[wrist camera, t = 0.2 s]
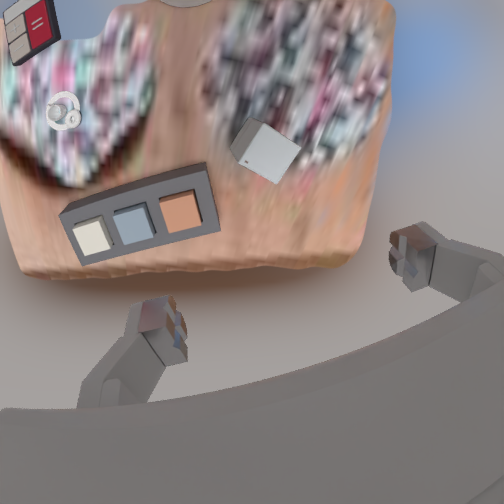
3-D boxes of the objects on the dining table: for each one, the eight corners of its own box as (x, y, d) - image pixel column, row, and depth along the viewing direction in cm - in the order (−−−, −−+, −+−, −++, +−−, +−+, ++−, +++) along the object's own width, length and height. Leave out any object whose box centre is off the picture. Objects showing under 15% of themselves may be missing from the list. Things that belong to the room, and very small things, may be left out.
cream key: (79, 219, 51) (72, 229, 47) (104, 211, 51) (98, 220, 47) (90, 245, 54) (84, 256, 50) (115, 237, 54) (110, 248, 50)
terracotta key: (161, 194, 51) (159, 203, 48) (193, 186, 52) (192, 194, 48) (170, 222, 55) (169, 233, 51) (201, 215, 55) (201, 225, 51)
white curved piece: (88, 119, 45) (80, 121, 41) (58, 140, 45) (49, 145, 42) (71, 83, 40) (62, 83, 37) (41, 106, 40) (31, 108, 37)
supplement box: (260, 166, 56) (276, 186, 45) (228, 147, 53) (236, 163, 42) (281, 135, 53) (303, 148, 42) (249, 115, 50) (263, 122, 39)
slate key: (118, 207, 51) (112, 216, 47) (146, 198, 51) (143, 207, 48) (128, 234, 54) (124, 245, 51) (156, 226, 55) (153, 237, 51)
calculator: (10, 67, 31) (0, 11, 22) (21, 66, 35) (10, 13, 26) (54, 37, 31) (43, -19, 23) (63, 39, 35) (52, -15, 26)
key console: (69, 203, 52) (58, 215, 47) (205, 162, 53) (206, 170, 48) (90, 251, 58) (82, 266, 53) (218, 217, 60) (220, 231, 55)
